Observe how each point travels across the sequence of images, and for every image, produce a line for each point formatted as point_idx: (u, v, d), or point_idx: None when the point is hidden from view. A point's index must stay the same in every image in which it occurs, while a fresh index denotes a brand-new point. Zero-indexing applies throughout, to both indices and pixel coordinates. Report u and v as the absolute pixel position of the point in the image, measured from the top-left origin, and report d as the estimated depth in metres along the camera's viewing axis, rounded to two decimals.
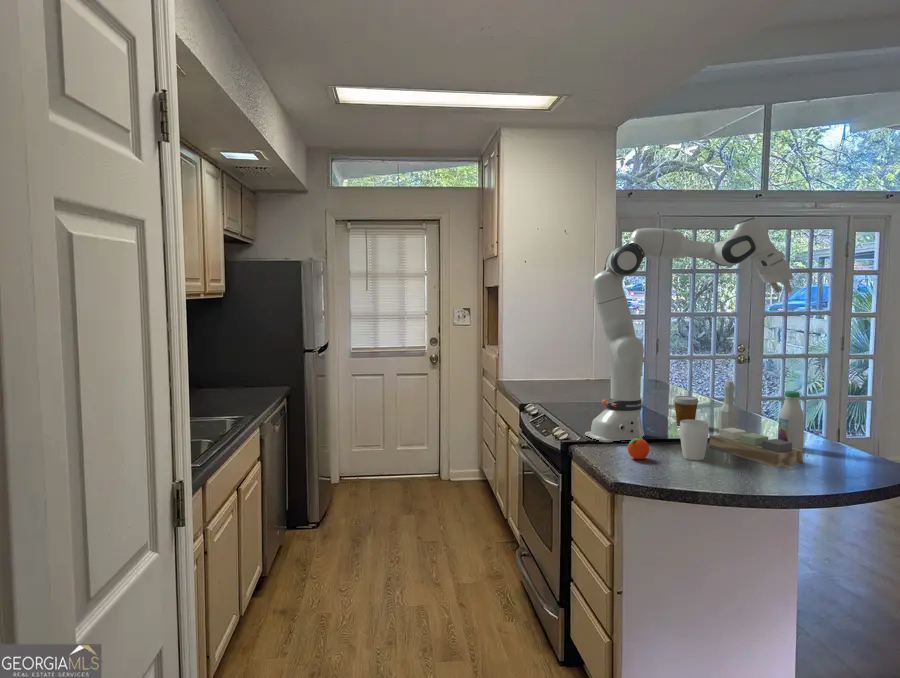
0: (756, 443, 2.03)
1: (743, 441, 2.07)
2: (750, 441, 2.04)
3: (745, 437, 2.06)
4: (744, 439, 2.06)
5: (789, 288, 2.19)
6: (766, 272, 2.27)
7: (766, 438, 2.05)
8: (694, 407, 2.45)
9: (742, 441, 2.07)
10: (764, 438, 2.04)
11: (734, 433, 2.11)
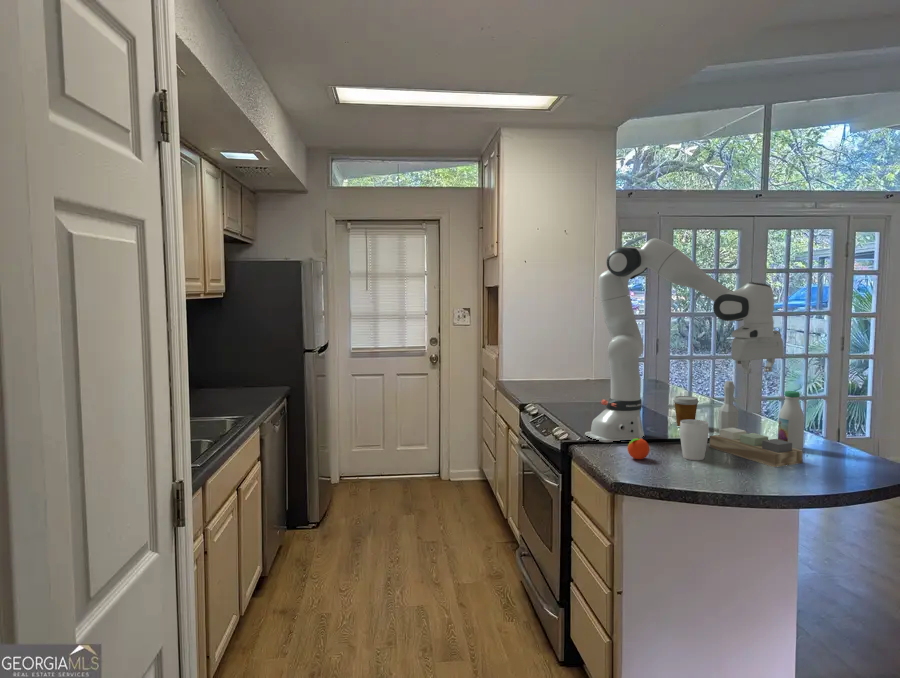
0: (756, 443, 2.03)
1: (743, 441, 2.07)
2: (750, 441, 2.04)
3: (745, 437, 2.06)
4: (744, 439, 2.06)
5: (746, 370, 2.03)
6: None
7: (766, 438, 2.05)
8: (694, 407, 2.45)
9: (742, 441, 2.07)
10: (764, 438, 2.04)
11: (734, 433, 2.11)
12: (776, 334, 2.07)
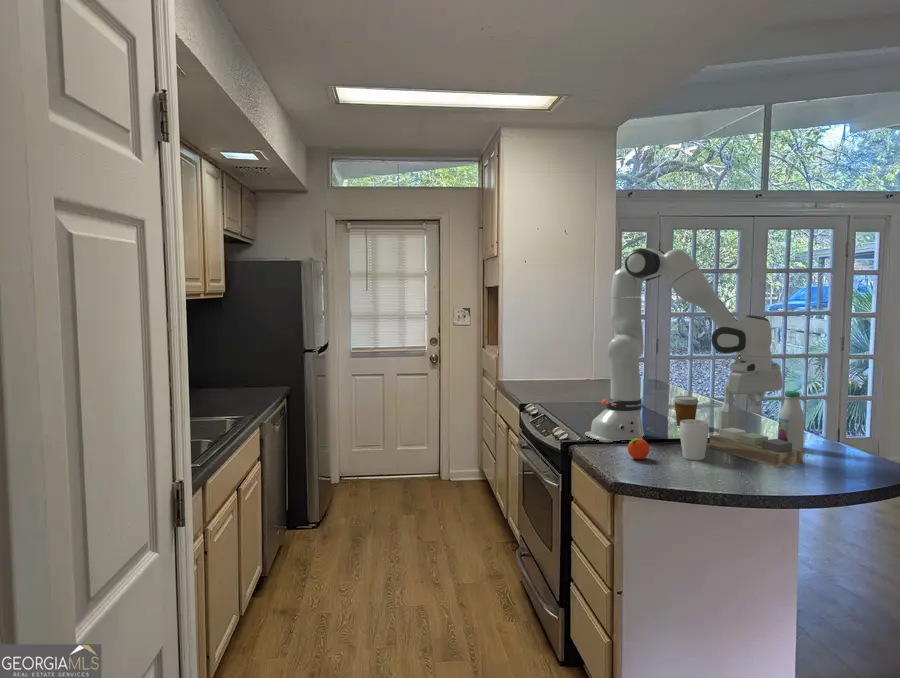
0: (756, 443, 2.03)
1: (743, 441, 2.07)
2: (750, 441, 2.04)
3: (745, 437, 2.06)
4: (744, 439, 2.06)
5: (753, 402, 2.05)
6: None
7: (766, 438, 2.05)
8: (694, 407, 2.45)
9: (742, 441, 2.07)
10: (764, 438, 2.04)
11: (734, 433, 2.11)
12: (775, 366, 2.07)
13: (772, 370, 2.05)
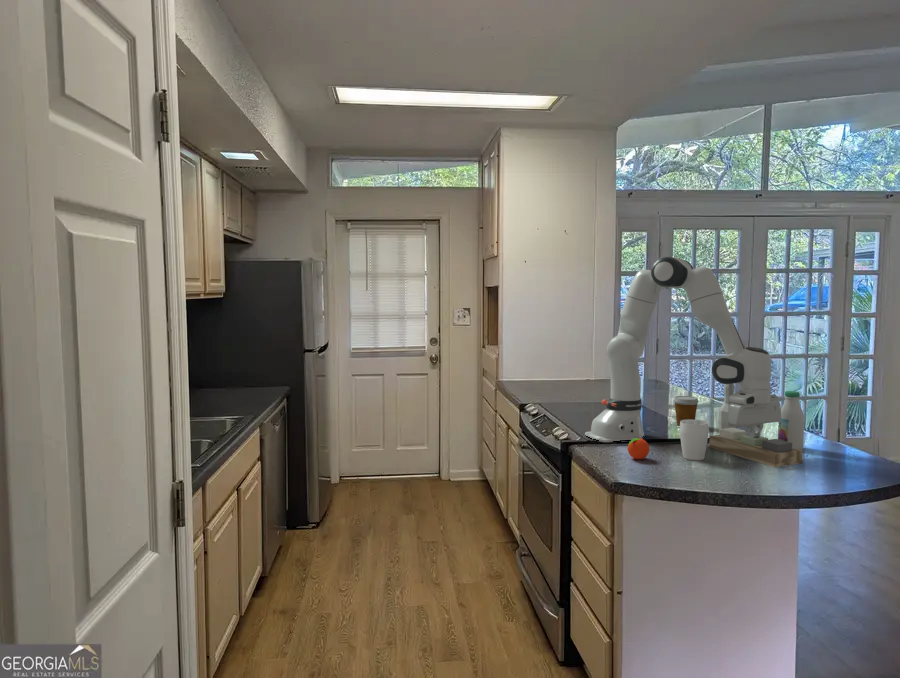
0: (756, 444, 2.03)
1: (743, 442, 2.07)
2: (750, 443, 2.04)
3: (745, 438, 2.06)
4: (744, 440, 2.06)
5: (752, 434, 2.06)
6: None
7: (766, 439, 2.05)
8: (694, 407, 2.45)
9: (742, 442, 2.07)
10: (764, 439, 2.04)
11: (734, 433, 2.11)
12: (774, 398, 2.08)
13: (771, 402, 2.06)
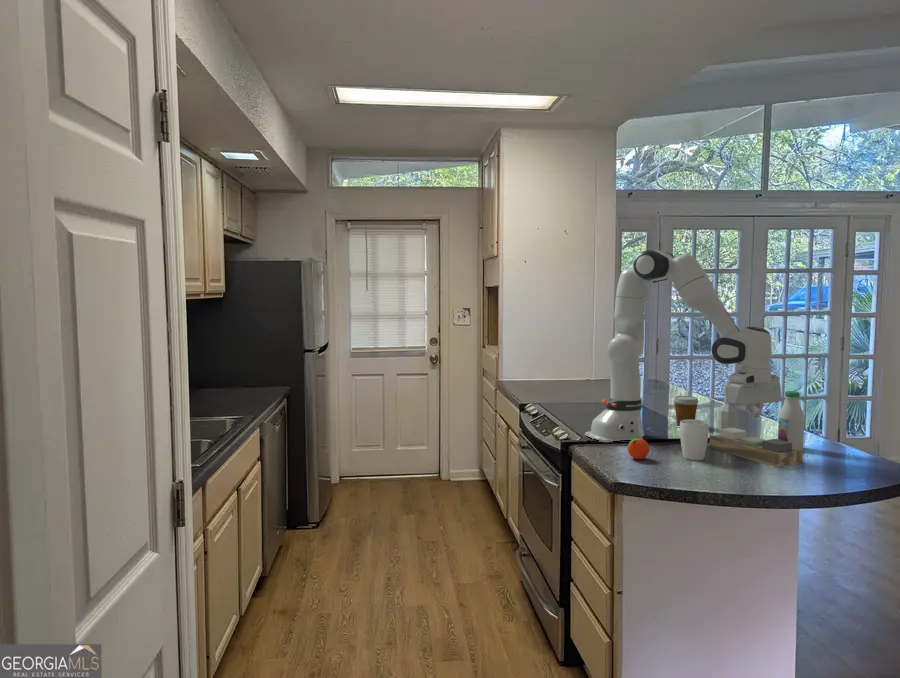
0: None
1: None
2: None
3: (745, 441, 2.06)
4: None
5: (751, 413, 2.05)
6: None
7: None
8: (694, 407, 2.45)
9: None
10: None
11: (734, 433, 2.11)
12: (774, 378, 2.08)
13: (771, 382, 2.05)
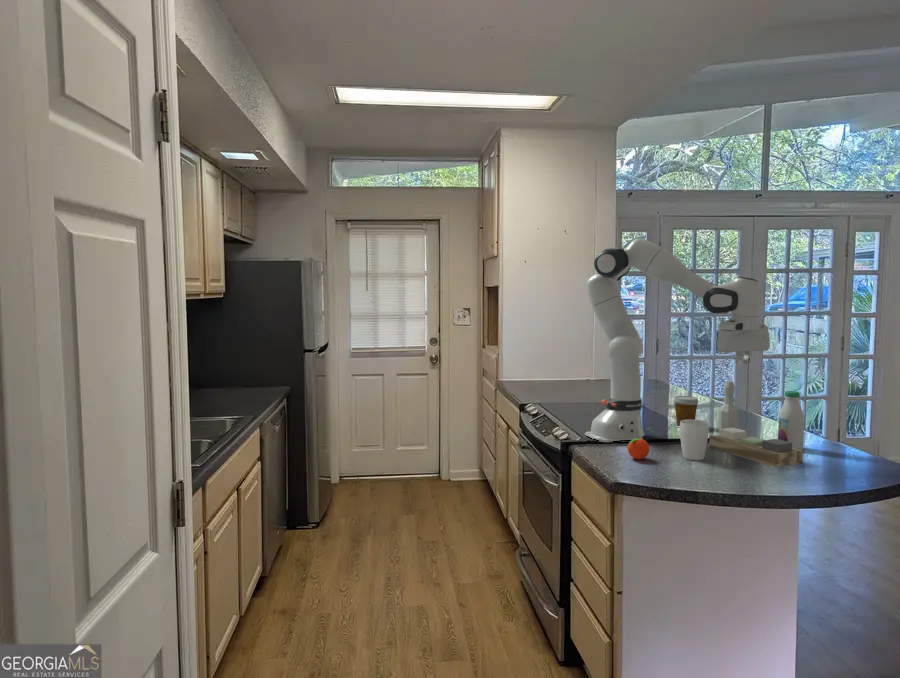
0: None
1: None
2: None
3: (745, 441, 2.06)
4: None
5: (740, 361, 2.12)
6: None
7: None
8: (694, 407, 2.45)
9: None
10: None
11: (734, 433, 2.11)
12: (763, 328, 2.14)
13: (760, 331, 2.12)
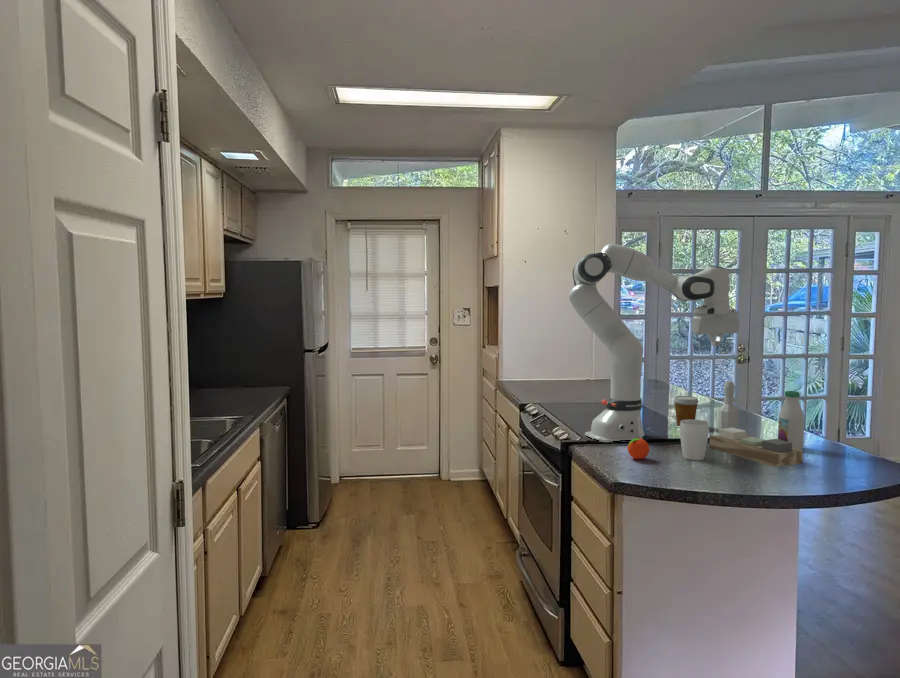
0: None
1: None
2: None
3: (745, 441, 2.06)
4: None
5: (713, 342, 2.33)
6: None
7: None
8: (694, 407, 2.45)
9: None
10: None
11: (734, 433, 2.11)
12: (733, 312, 2.35)
13: (730, 315, 2.33)
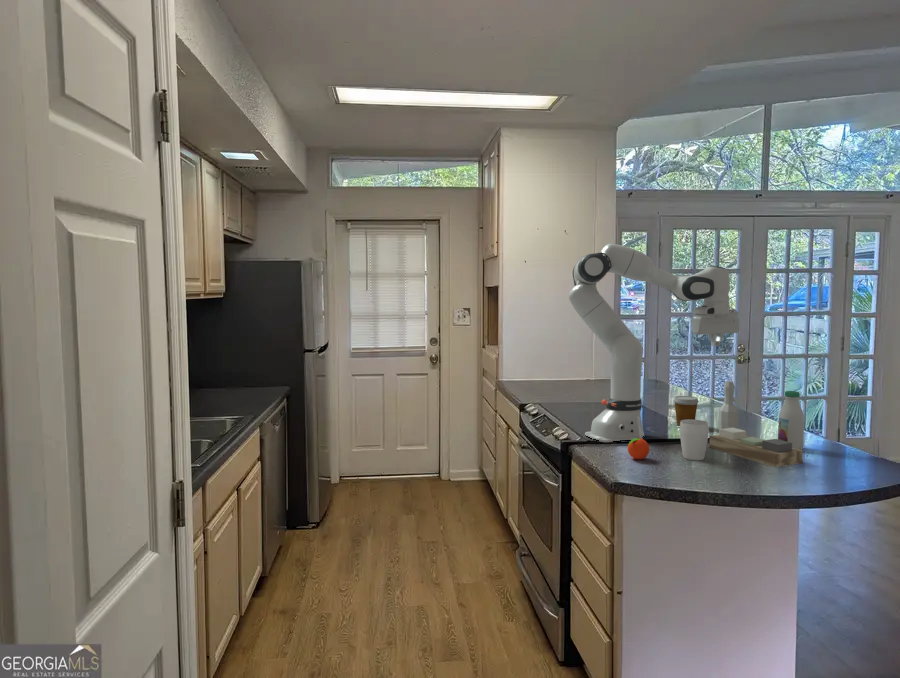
0: None
1: None
2: None
3: (745, 441, 2.06)
4: None
5: (713, 342, 2.33)
6: None
7: None
8: (694, 407, 2.45)
9: None
10: None
11: (734, 433, 2.11)
12: (733, 312, 2.35)
13: (730, 315, 2.33)
